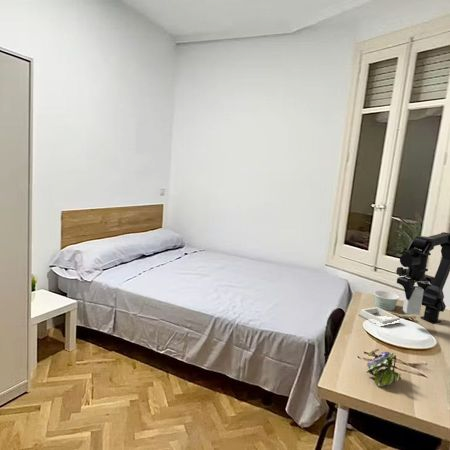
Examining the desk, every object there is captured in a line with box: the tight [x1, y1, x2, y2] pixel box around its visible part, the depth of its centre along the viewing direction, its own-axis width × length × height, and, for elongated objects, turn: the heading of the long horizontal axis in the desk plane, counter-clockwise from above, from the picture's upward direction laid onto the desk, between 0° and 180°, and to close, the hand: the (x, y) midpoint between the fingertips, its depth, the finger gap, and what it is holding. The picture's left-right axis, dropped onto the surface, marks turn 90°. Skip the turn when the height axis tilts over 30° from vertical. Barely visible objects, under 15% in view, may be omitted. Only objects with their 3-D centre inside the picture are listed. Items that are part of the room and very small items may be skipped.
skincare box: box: [402, 285, 424, 316], centre depth 162 cm, size 6×4×12 cm
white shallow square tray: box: [358, 306, 401, 324], centre depth 169 cm, size 13×13×3 cm
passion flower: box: [365, 348, 402, 387], centre depth 120 cm, size 11×11×12 cm
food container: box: [373, 290, 400, 311], centre depth 185 cm, size 12×12×6 cm
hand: (413, 298), depth 162 cm, fingers closed on skincare box, 7 cm apart
